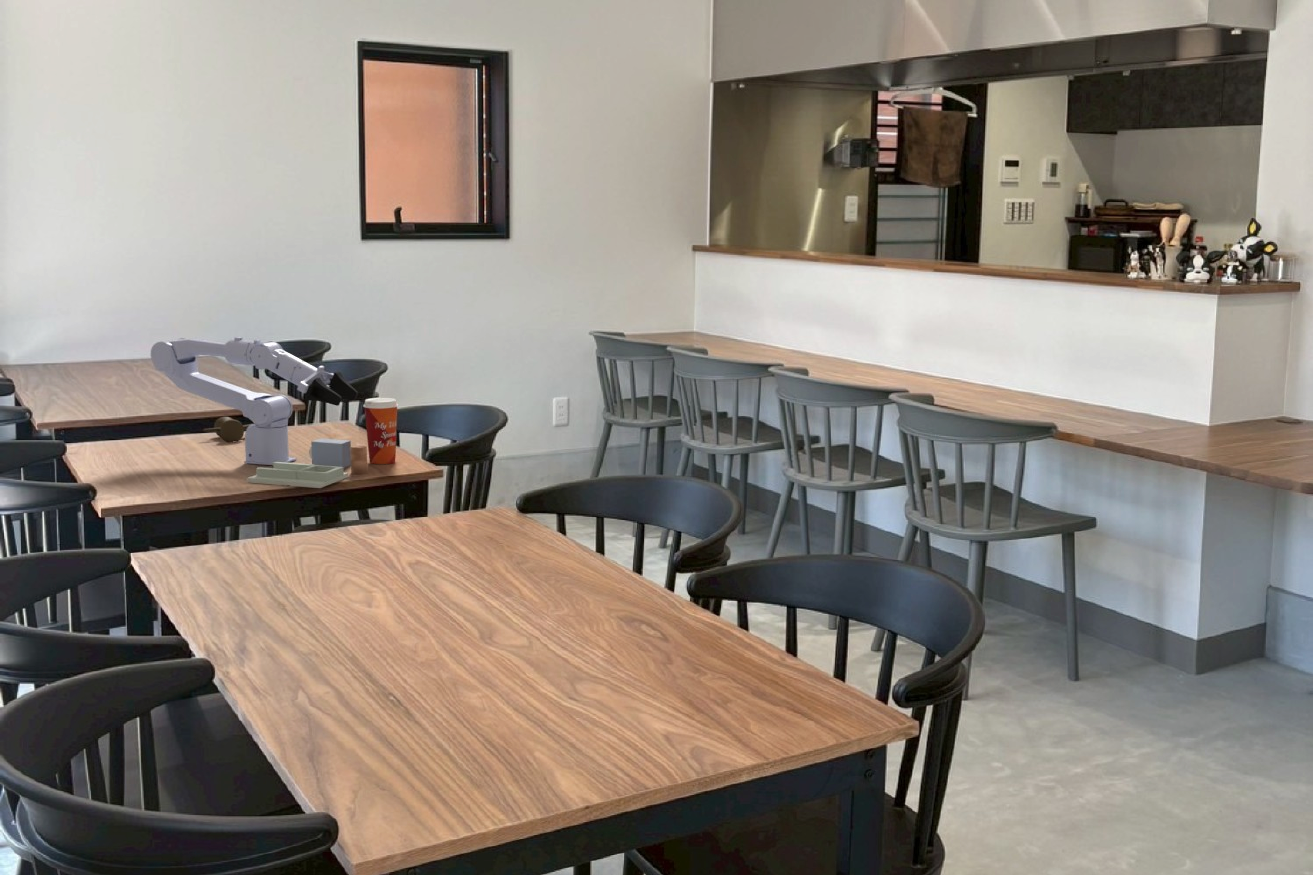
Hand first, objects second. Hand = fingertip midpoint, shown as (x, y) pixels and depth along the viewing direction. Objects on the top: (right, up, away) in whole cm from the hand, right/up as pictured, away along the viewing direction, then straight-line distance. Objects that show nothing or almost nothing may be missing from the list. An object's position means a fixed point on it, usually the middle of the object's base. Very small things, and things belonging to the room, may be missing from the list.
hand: (348, 399), depth 296 cm
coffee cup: (+6, -15, +10) cm, 19 cm away
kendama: (-37, -9, +39) cm, 54 cm away
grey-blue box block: (-5, -16, +5) cm, 17 cm away
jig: (-9, -18, -10) cm, 23 cm away
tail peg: (+3, -17, -3) cm, 17 cm away
